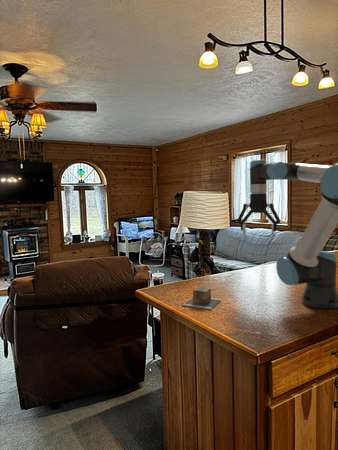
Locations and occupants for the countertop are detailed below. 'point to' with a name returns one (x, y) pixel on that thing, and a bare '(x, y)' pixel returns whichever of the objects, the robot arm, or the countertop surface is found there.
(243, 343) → the countertop surface
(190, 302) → the tray
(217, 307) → the beige flat square panel
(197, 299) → the walnut block
